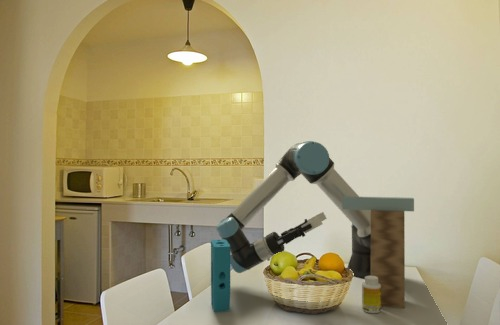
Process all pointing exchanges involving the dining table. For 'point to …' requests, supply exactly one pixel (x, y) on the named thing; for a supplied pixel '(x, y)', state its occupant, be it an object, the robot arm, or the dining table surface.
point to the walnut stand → (389, 255)
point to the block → (220, 275)
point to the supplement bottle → (371, 295)
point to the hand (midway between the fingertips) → (322, 217)
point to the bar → (378, 203)
